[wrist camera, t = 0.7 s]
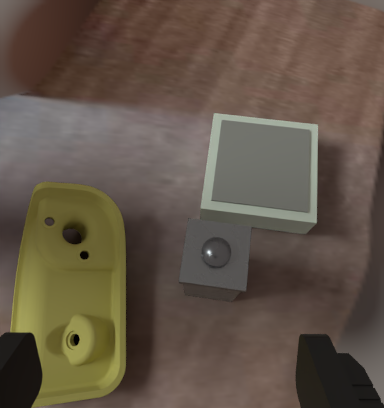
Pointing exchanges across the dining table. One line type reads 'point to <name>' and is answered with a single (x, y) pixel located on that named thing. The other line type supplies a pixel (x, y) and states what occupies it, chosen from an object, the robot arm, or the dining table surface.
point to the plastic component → (73, 292)
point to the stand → (261, 174)
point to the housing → (215, 259)
